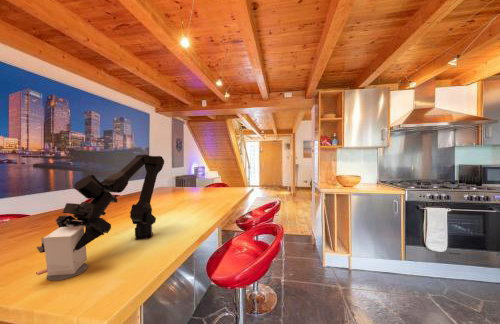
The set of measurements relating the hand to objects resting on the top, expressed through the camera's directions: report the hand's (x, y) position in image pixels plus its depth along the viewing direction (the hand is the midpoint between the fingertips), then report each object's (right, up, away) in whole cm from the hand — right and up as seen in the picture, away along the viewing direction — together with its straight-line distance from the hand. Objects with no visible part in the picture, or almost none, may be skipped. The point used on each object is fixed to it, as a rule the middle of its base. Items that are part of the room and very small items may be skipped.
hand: (65, 248), depth 68 cm
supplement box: (0, -7, +1) cm, 7 cm away
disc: (0, -8, +1) cm, 8 cm away
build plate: (-25, -9, +21) cm, 34 cm away
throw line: (-6, -8, +4) cm, 11 cm away
